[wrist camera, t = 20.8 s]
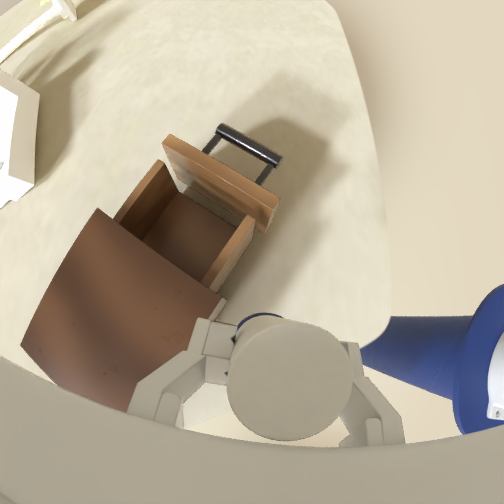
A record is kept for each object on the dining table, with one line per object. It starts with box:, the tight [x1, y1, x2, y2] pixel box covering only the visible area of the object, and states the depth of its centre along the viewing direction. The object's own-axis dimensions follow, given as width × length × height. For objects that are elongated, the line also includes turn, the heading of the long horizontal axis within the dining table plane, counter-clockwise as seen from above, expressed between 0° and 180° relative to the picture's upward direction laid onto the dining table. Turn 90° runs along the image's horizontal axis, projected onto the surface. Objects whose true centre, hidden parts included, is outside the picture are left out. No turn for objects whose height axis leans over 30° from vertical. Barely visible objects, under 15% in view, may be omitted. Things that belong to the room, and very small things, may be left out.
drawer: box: [113, 123, 283, 293], centre depth 27 cm, size 18×11×8 cm, turn 147°
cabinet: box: [20, 208, 227, 413], centre depth 25 cm, size 15×13×10 cm
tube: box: [227, 313, 353, 441], centre depth 11 cm, size 3×3×9 cm
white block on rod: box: [0, 0, 77, 63], centre depth 35 cm, size 9×9×32 cm
